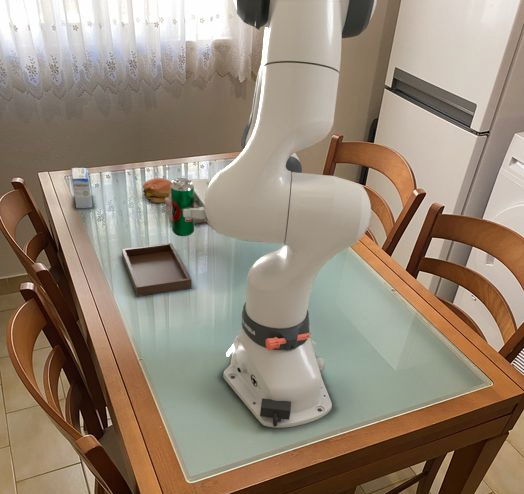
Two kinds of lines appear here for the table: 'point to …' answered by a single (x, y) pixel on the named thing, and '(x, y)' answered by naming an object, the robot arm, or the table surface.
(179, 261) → the tray
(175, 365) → the table surface
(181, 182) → the soda can
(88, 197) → the medicine box
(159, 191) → the burger
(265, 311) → the robot arm
